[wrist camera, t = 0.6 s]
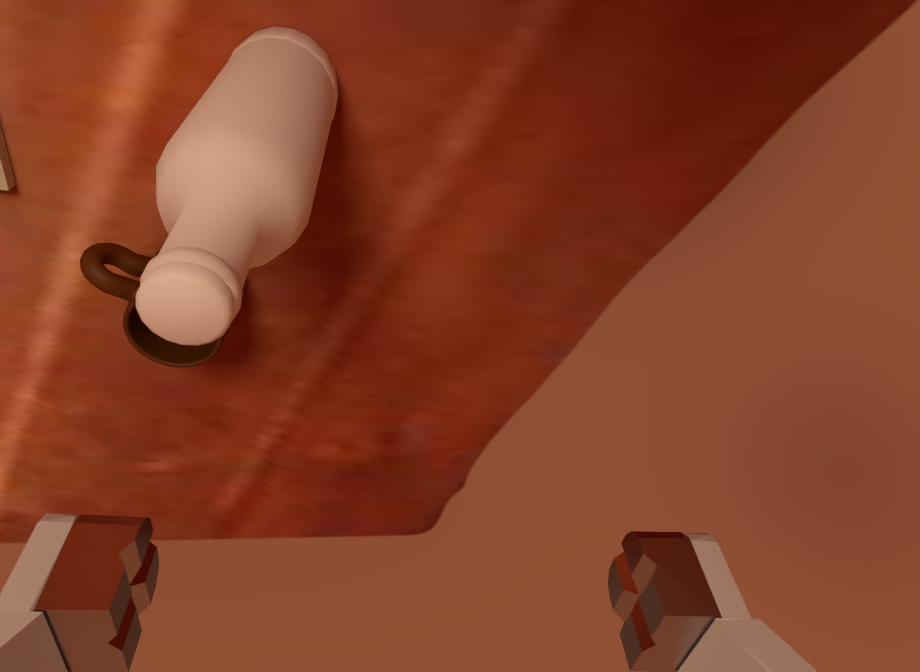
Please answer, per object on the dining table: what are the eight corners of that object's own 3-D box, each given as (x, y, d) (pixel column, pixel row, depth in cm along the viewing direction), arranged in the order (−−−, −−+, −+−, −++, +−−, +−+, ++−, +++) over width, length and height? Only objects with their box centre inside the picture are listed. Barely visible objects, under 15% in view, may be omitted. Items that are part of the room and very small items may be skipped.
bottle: (257, 144, 52) (140, 406, 28) (212, 41, 47) (24, 252, 24) (354, 118, 51) (317, 364, 28) (317, 11, 47) (235, 198, 23)
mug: (91, 238, 56) (44, 300, 48) (140, 178, 53) (98, 235, 46) (213, 317, 62) (187, 384, 54) (263, 268, 59) (243, 331, 51)
